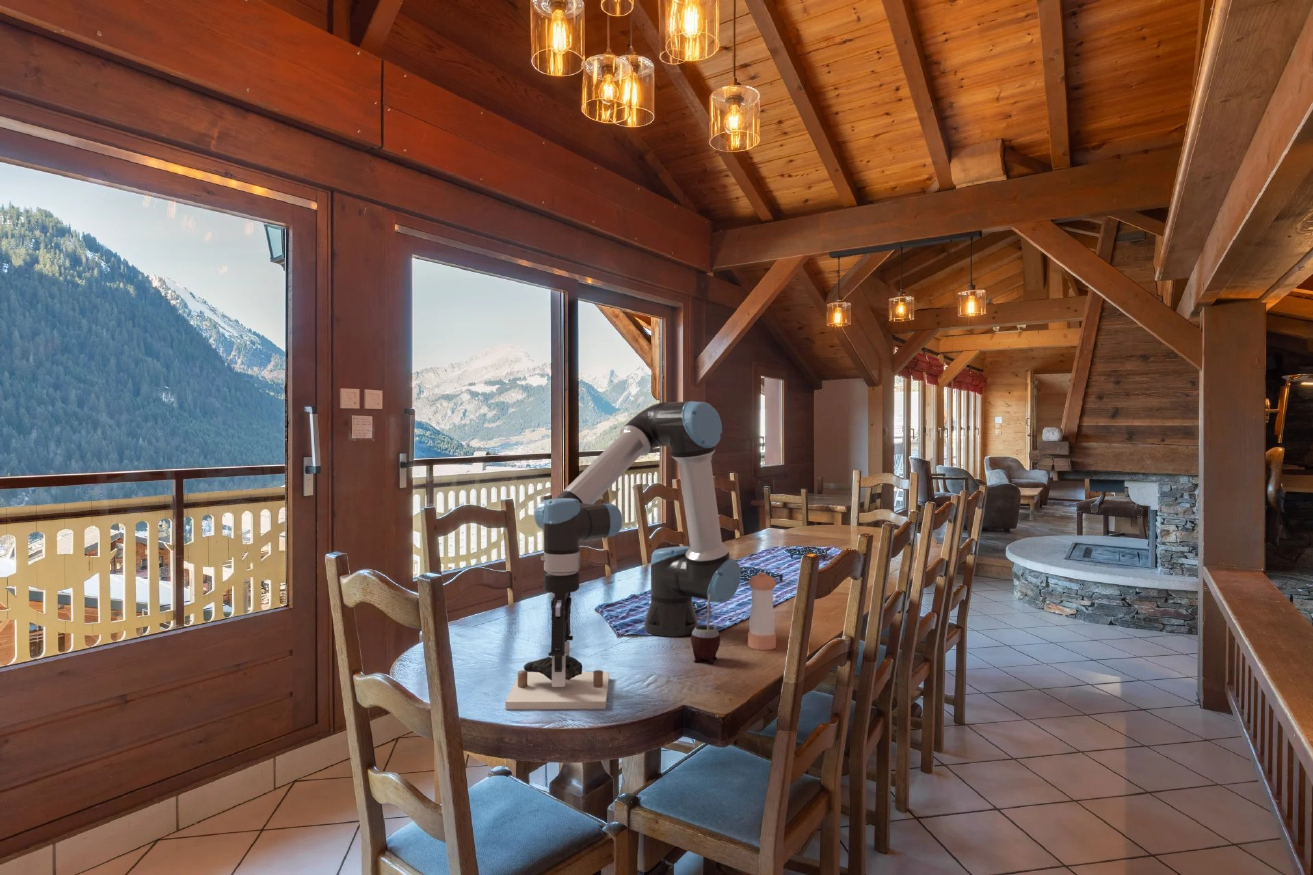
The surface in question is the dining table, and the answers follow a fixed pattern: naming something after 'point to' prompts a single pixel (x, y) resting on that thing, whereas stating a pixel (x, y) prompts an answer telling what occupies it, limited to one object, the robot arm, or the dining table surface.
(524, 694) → the board
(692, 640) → the mate gourd
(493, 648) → the dining table surface
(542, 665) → the stone
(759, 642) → the pepper shaker
